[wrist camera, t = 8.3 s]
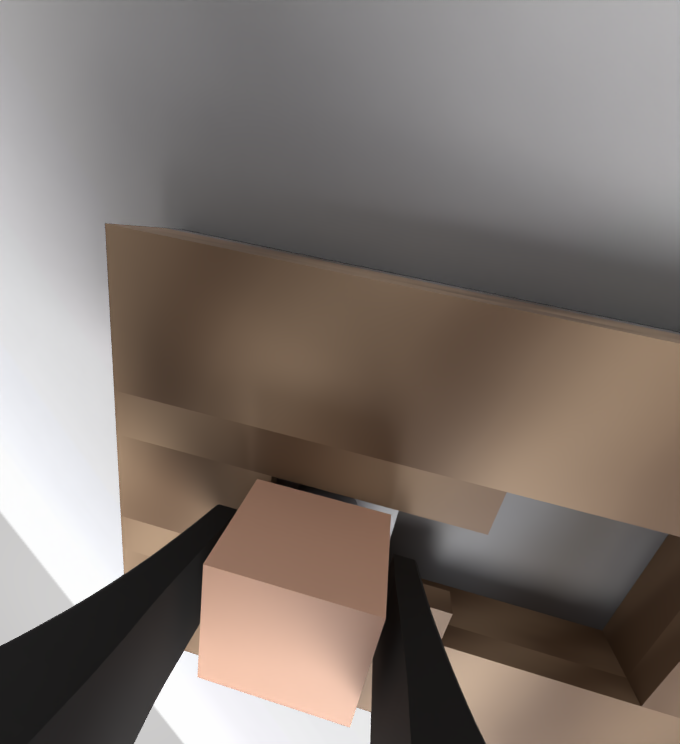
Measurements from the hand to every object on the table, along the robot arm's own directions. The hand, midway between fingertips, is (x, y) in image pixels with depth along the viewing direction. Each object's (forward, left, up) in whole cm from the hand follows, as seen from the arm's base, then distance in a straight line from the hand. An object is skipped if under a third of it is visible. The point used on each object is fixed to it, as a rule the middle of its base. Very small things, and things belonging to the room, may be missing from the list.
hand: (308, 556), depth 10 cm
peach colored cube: (0, 0, -3) cm, 3 cm away
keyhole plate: (-3, 0, -4) cm, 5 cm away
